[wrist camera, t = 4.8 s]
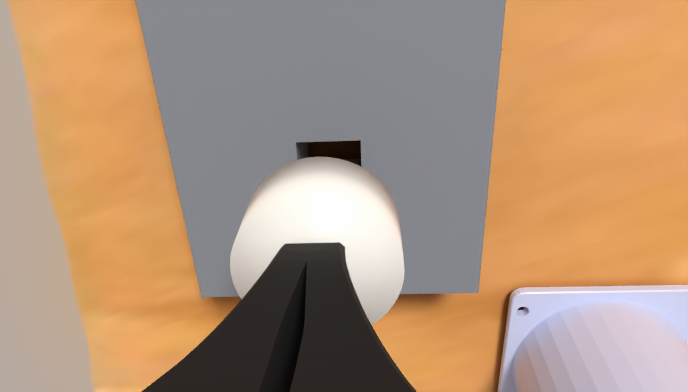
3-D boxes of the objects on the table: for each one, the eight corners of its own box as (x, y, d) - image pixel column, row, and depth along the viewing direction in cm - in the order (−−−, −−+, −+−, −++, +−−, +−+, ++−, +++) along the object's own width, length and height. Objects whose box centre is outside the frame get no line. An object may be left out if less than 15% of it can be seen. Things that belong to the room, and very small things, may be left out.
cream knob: (394, 228, 18) (403, 337, 13) (272, 230, 18) (242, 338, 13) (393, 111, 16) (405, 194, 11) (257, 115, 16) (217, 198, 11)
